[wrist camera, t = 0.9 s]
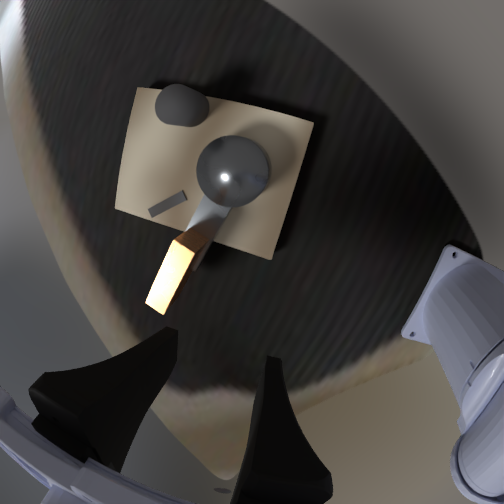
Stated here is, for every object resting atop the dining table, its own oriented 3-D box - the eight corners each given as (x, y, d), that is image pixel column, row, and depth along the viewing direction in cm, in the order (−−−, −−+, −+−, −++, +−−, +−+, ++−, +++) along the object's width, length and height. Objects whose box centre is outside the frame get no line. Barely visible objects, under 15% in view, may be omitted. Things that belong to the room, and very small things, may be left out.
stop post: (213, 94, 16) (198, 86, 13) (204, 130, 17) (187, 128, 14) (179, 89, 16) (160, 81, 13) (170, 123, 17) (150, 121, 14)
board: (313, 124, 16) (314, 122, 15) (272, 254, 20) (270, 260, 19) (144, 89, 17) (136, 87, 16) (122, 205, 20) (114, 208, 19)
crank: (226, 124, 16) (208, 120, 13) (284, 158, 16) (279, 160, 13) (153, 270, 20) (129, 291, 17) (198, 300, 21) (180, 326, 17)
